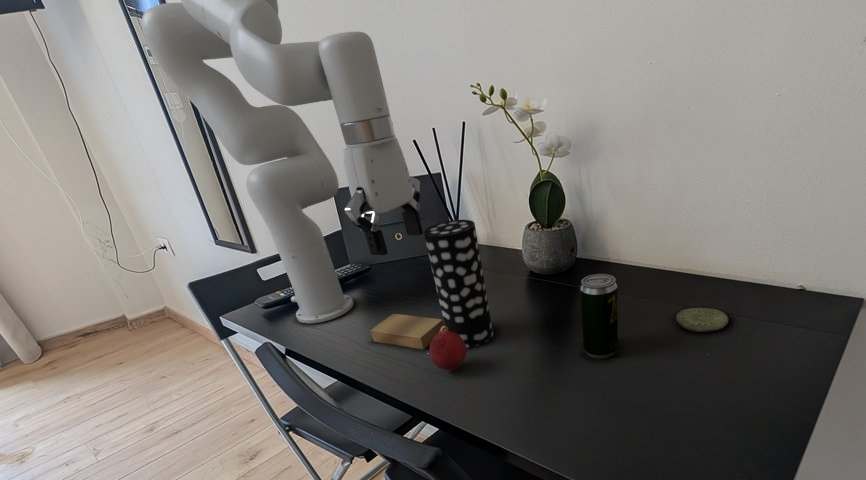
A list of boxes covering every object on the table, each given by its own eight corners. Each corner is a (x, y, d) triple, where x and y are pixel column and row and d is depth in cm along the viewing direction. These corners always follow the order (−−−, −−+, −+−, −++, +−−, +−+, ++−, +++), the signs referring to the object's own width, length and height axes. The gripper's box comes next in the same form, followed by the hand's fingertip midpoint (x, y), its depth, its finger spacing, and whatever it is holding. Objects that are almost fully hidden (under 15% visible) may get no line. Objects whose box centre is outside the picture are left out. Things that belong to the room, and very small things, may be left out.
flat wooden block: (373, 341, 89) (370, 330, 88) (396, 324, 94) (393, 313, 93) (423, 349, 84) (420, 337, 82) (445, 331, 88) (442, 319, 87)
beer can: (581, 359, 73) (577, 288, 67) (586, 341, 78) (582, 273, 71) (616, 360, 72) (615, 287, 65) (619, 342, 76) (618, 272, 70)
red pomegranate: (456, 383, 73) (446, 338, 69) (428, 376, 76) (416, 333, 72) (476, 364, 77) (468, 320, 73) (449, 358, 80) (439, 316, 76)
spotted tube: (488, 347, 81) (467, 233, 70) (442, 348, 83) (416, 238, 72) (497, 324, 88) (479, 217, 77) (455, 325, 90) (432, 222, 79)
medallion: (680, 307, 82) (681, 303, 82) (730, 311, 79) (731, 307, 78) (671, 329, 77) (672, 325, 76) (725, 334, 73) (725, 330, 73)
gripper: (386, 126, 78) (411, 227, 87) (308, 146, 66) (346, 262, 74) (422, 121, 74) (444, 227, 83) (346, 142, 62) (382, 264, 71)
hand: (398, 244), depth 79 cm, fingers open, 9 cm apart
